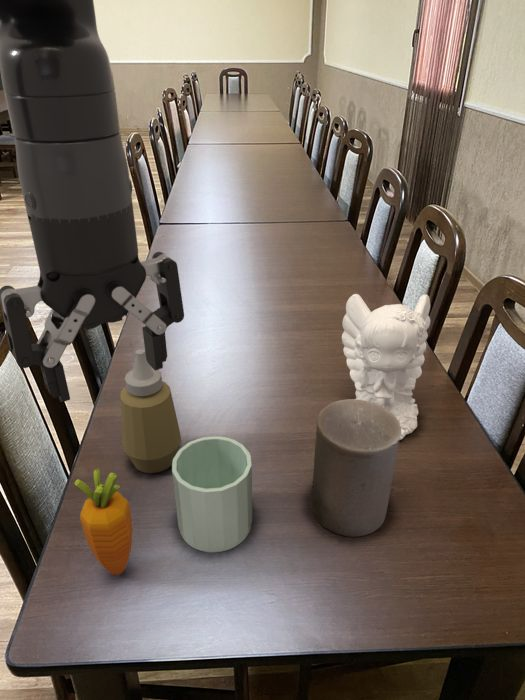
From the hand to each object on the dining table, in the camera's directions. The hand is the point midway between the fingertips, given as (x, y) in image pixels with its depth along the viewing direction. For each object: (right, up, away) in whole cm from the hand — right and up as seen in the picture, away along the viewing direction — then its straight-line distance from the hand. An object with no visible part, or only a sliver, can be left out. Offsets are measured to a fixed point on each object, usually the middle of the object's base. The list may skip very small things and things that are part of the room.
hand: (110, 380), depth 48 cm
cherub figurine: (+31, -8, +37) cm, 49 cm away
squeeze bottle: (-2, -13, +28) cm, 31 cm away
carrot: (-3, -23, +13) cm, 26 cm away
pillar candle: (+25, -18, +21) cm, 37 cm away
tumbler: (+8, -19, +19) cm, 28 cm away
